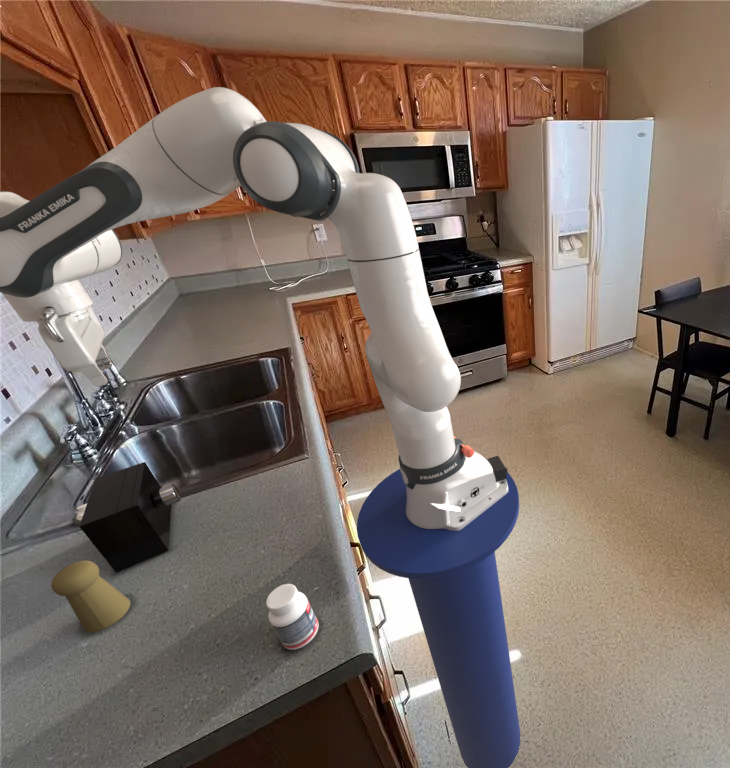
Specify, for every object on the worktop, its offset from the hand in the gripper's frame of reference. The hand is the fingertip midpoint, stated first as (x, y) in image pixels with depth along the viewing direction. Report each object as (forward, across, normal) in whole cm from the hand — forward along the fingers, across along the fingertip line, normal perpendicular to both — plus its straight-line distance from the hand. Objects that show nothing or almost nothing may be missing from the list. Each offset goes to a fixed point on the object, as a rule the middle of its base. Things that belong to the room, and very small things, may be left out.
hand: (104, 375), depth 74 cm
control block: (+32, -3, +9) cm, 34 cm away
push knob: (+28, -3, +3) cm, 28 cm away
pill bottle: (+34, -46, -11) cm, 58 cm away
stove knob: (+32, +14, +18) cm, 39 cm away
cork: (+32, -21, +14) cm, 41 cm away
